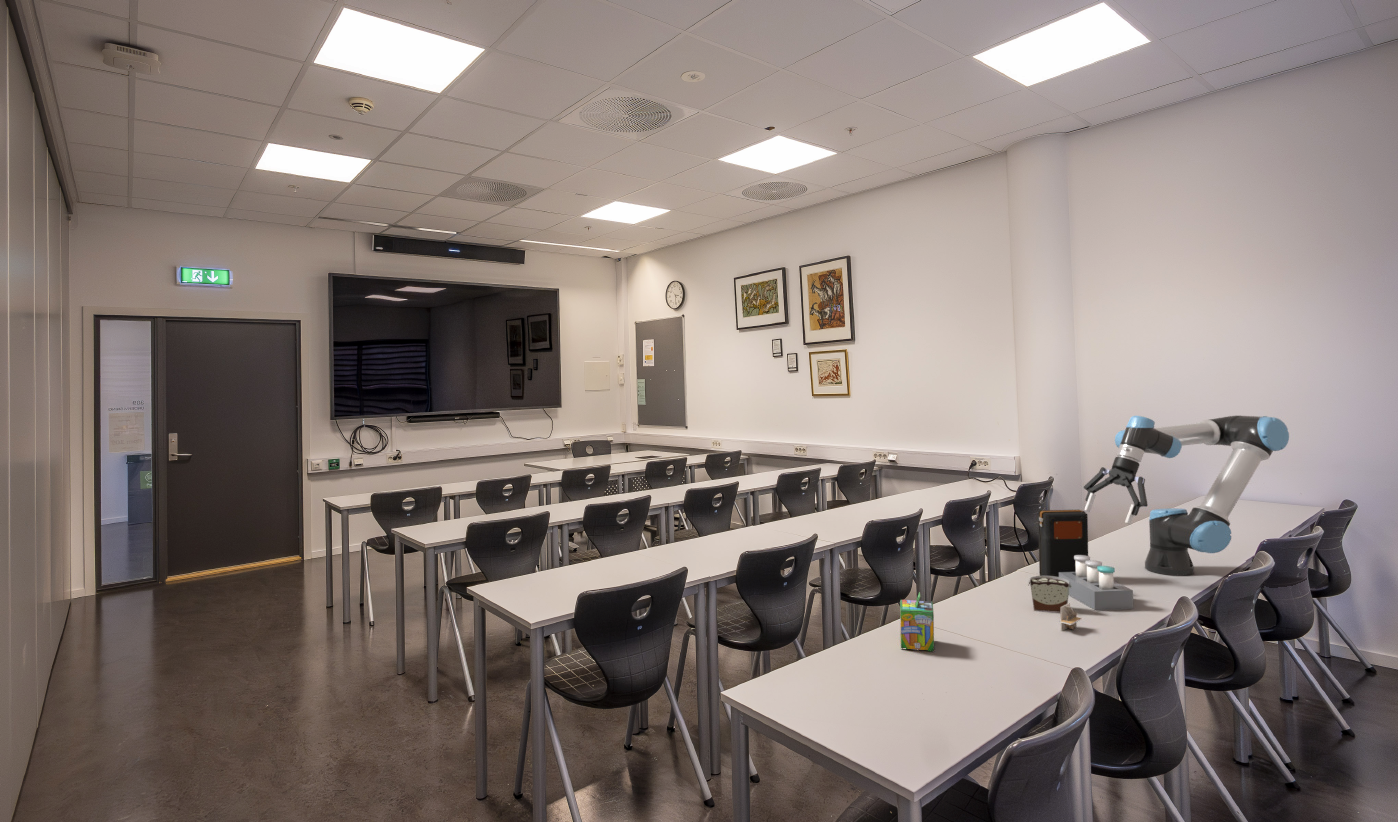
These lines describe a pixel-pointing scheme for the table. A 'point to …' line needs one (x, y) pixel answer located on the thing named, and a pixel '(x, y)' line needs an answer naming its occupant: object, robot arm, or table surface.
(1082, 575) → the grey plug end
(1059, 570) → the voltmeter
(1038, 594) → the food container
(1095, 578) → the grey plug middle
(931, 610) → the chalk box
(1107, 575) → the teal plug
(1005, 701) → the table surface
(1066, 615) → the architectural model
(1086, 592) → the panel
